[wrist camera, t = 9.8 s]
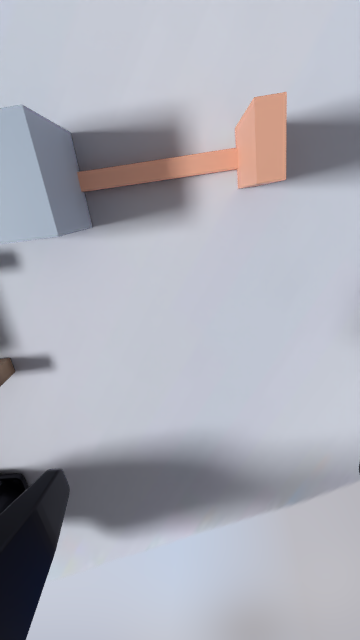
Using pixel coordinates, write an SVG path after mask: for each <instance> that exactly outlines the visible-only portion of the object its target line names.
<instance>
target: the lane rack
mask: <svg viewBox="0 0 360 640" xmlns="http://www.w3.org/2000/svg"><path fill="white" fill-rule="evenodd" d="M14 373H15V370H14V367H13V364H12V362H11V359H10V358H4V359H0V386H1V385H2V384H3V383H4V382H5V381H6V380H8V379H9V378H10V377H11V376H12V375H13V374H14Z"/></svg>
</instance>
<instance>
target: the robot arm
mask: <svg viewBox="0 0 360 640" xmlns="http://www.w3.org/2000/svg"><path fill="white" fill-rule="evenodd" d="M359 473H360V464H359ZM68 497H69V485H68V482H67V479H66V477H65V474H64V471H63V470H62V469H49V470H47V471H46V472H45V473H44V474H43V475H42V476H41V477H40V478H38V479H37V480H36V481H35V482H34V483H33V484H32V485H31V486H30V487H28V485H27V483H26V480H25V478H24V477H23V476H22V475H21V474H6V475H0V640H26V637H27V634H28V631H29V628H30V625H31V622H32V619H33V616H34V614H35V610H36V608H37V605H38V601H39V599H40V596H41V593H42V590H43V587H44V584H45V581H46V578H47V575H48V572H49V569H50V566H51V563H52V560H53V557H54V554H55V551H56V547H57V543H58V539H59V535H60V531H61V527H62V522H63V518H64V514H65V510H66V506H67V502H68Z"/></svg>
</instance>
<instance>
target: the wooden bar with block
mask: <svg viewBox="0 0 360 640" xmlns="http://www.w3.org/2000/svg"><path fill="white" fill-rule="evenodd" d="M286 104H287V92H283V93H277V94H271V95H265V96H259V97H254V98H253V100H252V102H251V103H250V105H249V106H248V108H247V110H246V111H245V113H244V115H243V116H242V118H241V119H240V121H239V123H238V124H237V126H236V127H235V136H236V148H232V149H225V150H219V151H212V152H206V153H199V154H192V155H186V156H179V157H173V158H166V159H160V160H153V161H147V162H140V163H134V164H127V165H120V166H114V167H107V168H101V169H94V170H88V171H81V172H80V171H79V167H78V162H77V158H76V154H75V149H74V145H73V141H72V136H71V132H69V131H67V130H65V129H64V128H62V127H60V126H58V125H57V124H55V123H53V122H51V121H50V120H48V119H46V118H45V117H43V116H41V115H39V114H38V113H36V112H34V111H32V110H31V109H29V108H27V107H25V106H24V105H16V106H11V107H5V108H0V244H7V243H14V242H21V241H29V240H36V239H43V238H51V237H58V236H62V235H66V234H69V233H73V232H77V231H81V230H84V229H88V228H92V223H91V218H90V214H89V210H88V205H87V201H86V197H85V192H87V191H94V190H100V189H107V188H114V187H121V186H128V185H134V184H141V183H148V182H155V181H162V180H168V179H175V178H182V177H189V176H196V175H202V174H209V173H216V172H223V171H230V170H236V169H237V175H238V189H240V188H247V187H254V186H260V185H265V184H269V183H274V182H278V181H283V180H286Z"/></svg>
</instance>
